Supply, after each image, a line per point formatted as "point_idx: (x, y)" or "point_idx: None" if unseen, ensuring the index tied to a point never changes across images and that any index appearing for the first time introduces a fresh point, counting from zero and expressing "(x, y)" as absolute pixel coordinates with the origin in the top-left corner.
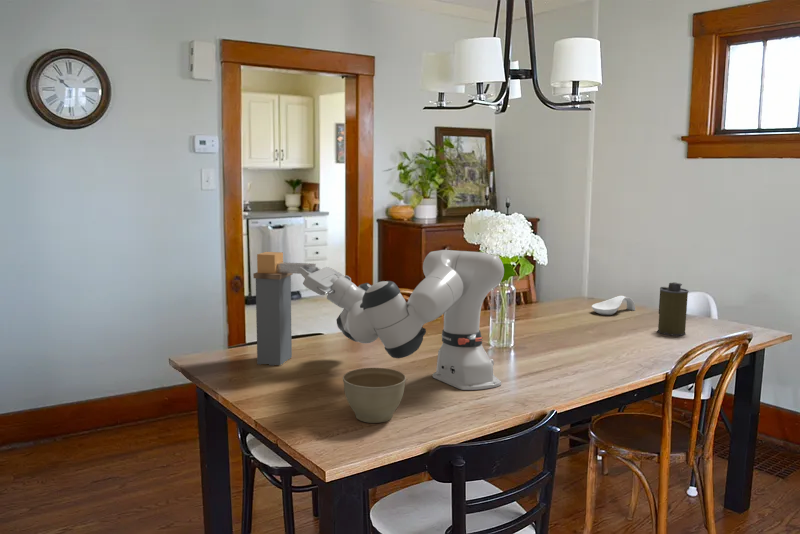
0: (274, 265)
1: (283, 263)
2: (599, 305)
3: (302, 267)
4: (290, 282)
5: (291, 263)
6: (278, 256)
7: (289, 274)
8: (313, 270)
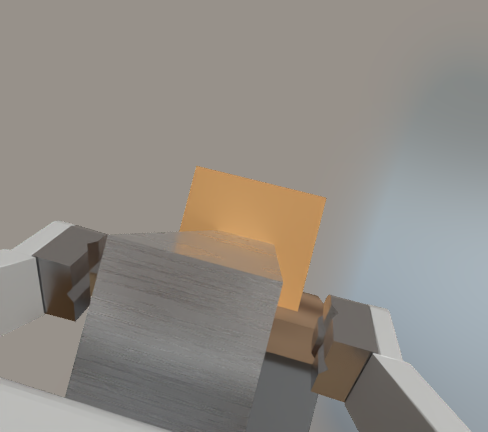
0: (180, 227)
1: (223, 233)
2: None
3: (80, 238)
4: (305, 420)
5: (233, 239)
6: (250, 196)
7: (278, 345)
8: (132, 362)
